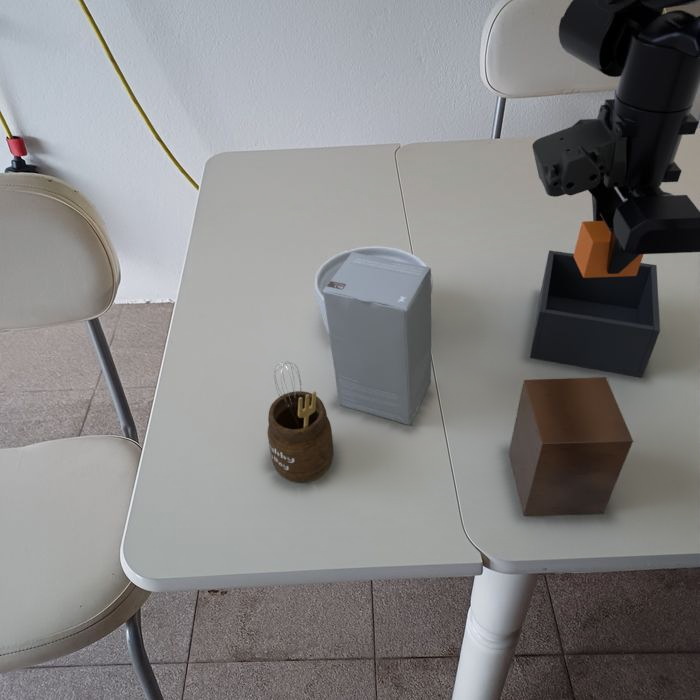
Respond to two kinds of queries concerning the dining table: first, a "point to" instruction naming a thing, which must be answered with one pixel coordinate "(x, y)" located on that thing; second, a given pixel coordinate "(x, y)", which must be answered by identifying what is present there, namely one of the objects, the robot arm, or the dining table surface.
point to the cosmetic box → (380, 335)
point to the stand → (567, 446)
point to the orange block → (598, 252)
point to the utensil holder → (299, 435)
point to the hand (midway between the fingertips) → (606, 260)
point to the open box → (596, 318)
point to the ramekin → (337, 261)
